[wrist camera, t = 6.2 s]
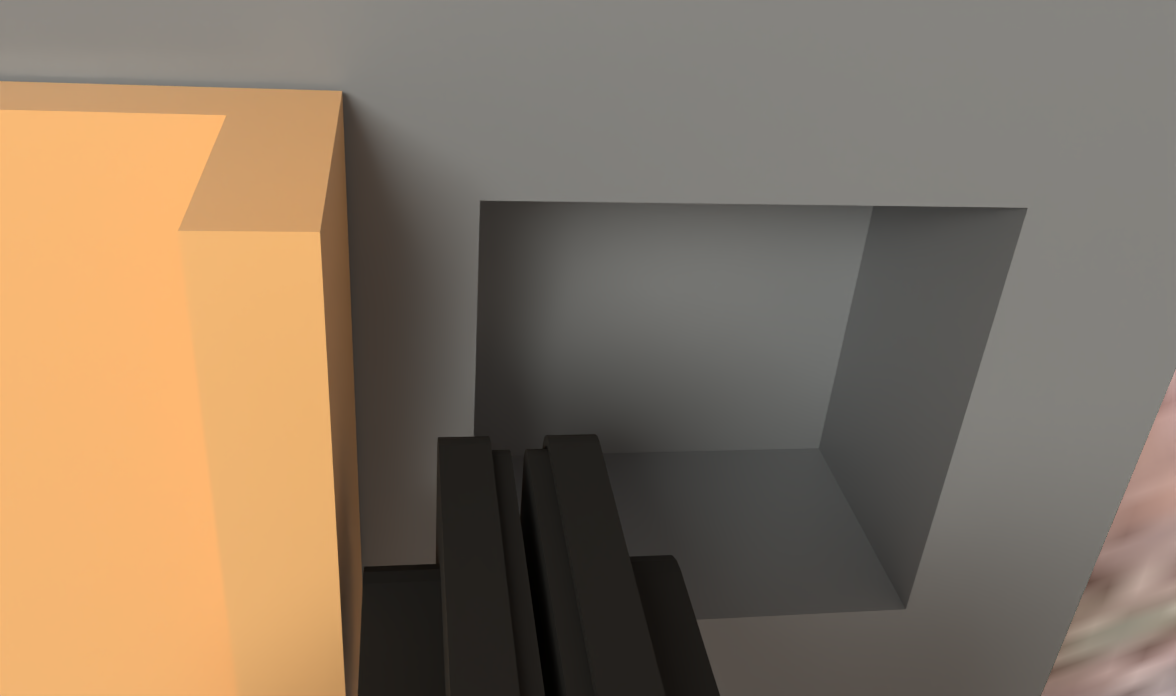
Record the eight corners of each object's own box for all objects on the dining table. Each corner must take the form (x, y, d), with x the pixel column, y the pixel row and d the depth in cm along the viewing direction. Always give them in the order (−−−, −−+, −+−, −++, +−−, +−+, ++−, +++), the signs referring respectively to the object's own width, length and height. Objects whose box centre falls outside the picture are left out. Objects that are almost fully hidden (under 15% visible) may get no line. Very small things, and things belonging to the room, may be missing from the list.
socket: (1115, -180, 16) (1380, -128, 11) (898, 564, 23) (1011, 767, 18) (-298, -287, 13) (-654, -271, 8) (-37, 604, 20) (-157, 855, 16)
